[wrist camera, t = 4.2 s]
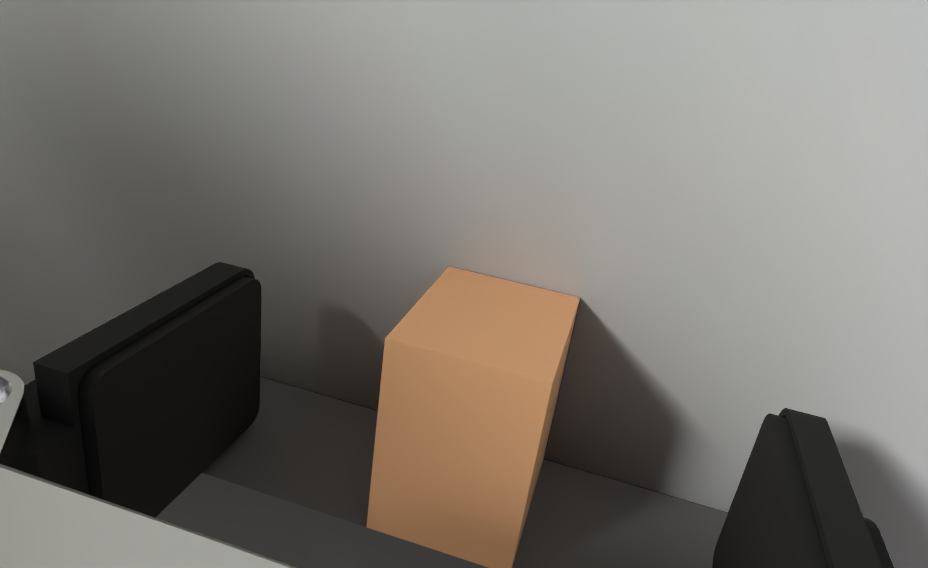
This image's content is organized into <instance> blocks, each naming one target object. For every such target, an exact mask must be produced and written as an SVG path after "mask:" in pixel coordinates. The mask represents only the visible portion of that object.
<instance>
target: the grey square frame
mask: <svg viewBox="0 0 928 568" xmlns="http://www.w3.org/2000/svg"><path fill="white" fill-rule="evenodd" d="M579 300H580V298H579V297H575V296H571V295H567V294H562V293H558V292H554V291H550V290H546V289H542V288H537V287H533V286H529V285H525V284H521V283H516V282H512V281H508V280H504V279H500V278H495V277H491V276H487V275H483V274H479V273H474V272H470V271H466V270H462V269H458V268H454V267H449V266H448V267H447V269H446V270H445V271H444V272H443V273H442V274H441V275H440V277H439V278H438V279H437V280H436V281H435V282H434V283H433V284H432V286H431V287H430V288H429V289H428V290H427V291H426V292H425V294H424V295H423V296H422V297H421V298H420V299H419V300H418V301H417V303H416V304H415V305H414V306H413V307H412V308H411V309H410V311H409V312H408V313H407V314H406V315H405V316H404V317H403V318H402V320H401V321H400V322H399V323H398V324H397V325H396V326H395V328H394V329H393V330H392V331H391V332H390V333H389V334H388V335H387V337H386V338H385V343H384V353H383V363H382V374H381V384H380V394H379V404H378V411H376V410H372V409H369V408H366V407H362V406H359V405H355V404H352V403H348V402H345V401H341V400H338V399H335V398H331V397H328V396H324V395H321V394H317V393H314V392H311V391H307V390H304V389H300V388H297V387H293V386H290V385H287V384H283V383H280V382H276V381H273V380H269V379H266V378H263V377H260V406H259V411H258V414H257V417H256V419H255V420H254V422H253V423H252V425H251V426H250V427H249V428H248V429H247V430H246V431H244V432H243V433H242V434H241V435H240V436H239V437H238V438H237V439H236V440H235V441H234V442H233V443H232V444H231V445H230V446H229V447H228V448H227V449H226V450H225V451H224V452H223V453H222V454H221V455H220V456H219V457H218V458H217V459H216V460H215V461H213V462H212V463H211V464H210V465H209V466H208V467H207V468H206V469H205V470H204V471H203V472H202V473H201V474H200V475H199V476H198V477H197V478H196V479H195V480H194V481H193V482H192V483H191V484H190V485H189V486H188V487H187V488H186V489H185V490H184V491H183V492H181V493H180V494H179V495H178V496H177V497H176V498H175V499H174V500H173V501H172V502H171V503H170V504H169V505H168V506H167V507H166V508H165V509H164V510H163V511H162V512H161V513H160V514H159V515H158V516H157V517H156V518H157V519H160V520H163V521H166V522H169V523H171V524H174V525H177V526H180V527H183V528H186V529H189V530H192V531H194V532H197V533H200V534H203V535H206V536H209V537H212V538H215V539H217V540H220V541H223V542H226V543H229V544H232V545H234V546H237V547H240V548H243V549H246V550H248V551H251V552H254V553H257V554H260V555H263V556H265V557H268V558H271V559H274V560H277V561H280V562H282V563H285V564H288V565H291V566H294V567H296V568H712V565H713V556H714V551H715V547H716V543H717V541H718V538H719V535H720V533H721V530H722V528H723V525H724V522H725V520H726V517H727V515H728V513H726V512H723V511H719V510H716V509H712V508H709V507H706V506H702V505H699V504H695V503H692V502H688V501H685V500H681V499H678V498H675V497H671V496H668V495H664V494H661V493H657V492H654V491H651V490H647V489H644V488H640V487H637V486H633V485H630V484H627V483H623V482H620V481H616V480H613V479H609V478H606V477H602V476H599V475H596V474H592V473H589V472H585V471H582V470H578V469H575V468H572V467H568V466H565V465H561V464H558V463H554V462H551V461H548V460H544V459H543V458H544V454H545V450H546V445H547V441H548V436H549V432H550V428H551V423H552V419H553V415H554V410H555V406H556V401H557V397H558V393H559V388H560V384H561V379H562V375H563V371H564V366H565V362H566V357H567V353H568V349H569V344H570V340H571V335H572V331H573V327H574V322H575V318H576V313H577V309H578V305H579Z"/></svg>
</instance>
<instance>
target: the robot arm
mask: <svg viewBox="0 0 928 568" xmlns="http://www.w3.org/2000/svg"><path fill="white" fill-rule="evenodd" d="M260 351H261V285H260V282H259V281H258V280H256V279H255V278H254V275H253V272H252V271H251V270H249V269H245V268H241V267H237V266H233V265H230V264H226V263H222V262H219V263H216V264H214V265H212V266H210V267H208V268H206V269H205V270H203V271H201V272H199V273H197V274H195V275H193V276H192V277H190V278H188V279H186V280H184V281H182V282H181V283H179V284H177V285H175V286H173V287H171V288H169V289H168V290H166V291H164V292H162V293H160V294H158V295H157V296H155V297H153V298H151V299H149V300H147V301H145V302H144V303H142V304H140V305H138V306H136V307H134V308H133V309H131V310H129V311H127V312H125V313H123V314H122V315H120V316H118V317H116V318H114V319H112V320H110V321H109V322H107V323H105V324H103V325H101V326H99V327H98V328H96V329H94V330H92V331H90V332H88V333H86V334H85V335H83V336H81V337H79V338H77V339H75V340H74V341H72V342H70V343H68V344H66V345H64V346H62V347H61V348H59V349H57V350H55V351H53V352H51V353H50V354H48V355H46V356H44V357H42V358H40V359H38V360H37V361H35V362H33V365H34V371H35V378H36V380H34V381H32V382H30V383H29V384H27V385H25V384H24V382H23V381H22V380H21V378H20V377H19V376H17V375H15V374H13V373H11V372H9V371H4V370H0V568H296V567H294V566H291V565H288V564H285V563H282V562H280V561H277V560H274V559H271V558H268V557H265V556H263V555H260V554H257V553H254V552H251V551H248V550H246V549H243V548H240V547H237V546H234V545H232V544H229V543H226V542H223V541H220V540H217V539H215V538H212V537H209V536H206V535H203V534H200V533H197V532H194V531H192V530H189V529H186V528H183V527H180V526H177V525H174V524H171V523H169V522H166V521H163V520H160V519H157V518H156V517H157V516H158V515H159V514H160V513H161V512H162V511H163V510H164V509H165V508H166V507H167V506H168V505H169V504H170V503H171V502H172V501H173V500H174V499H175V498H176V497H177V496H178V495H179V494H180V493H181V492H183V491H184V490H185V489H186V488H187V487H188V486H189V485H190V484H191V483H192V482H193V481H194V480H195V479H196V478H197V477H198V476H199V475H200V474H201V473H202V472H203V471H204V470H205V469H206V468H207V467H208V466H209V465H210V464H211V463H212V462H213V461H215V460H216V459H217V458H218V457H219V456H220V455H221V454H222V453H223V452H224V451H225V450H226V449H227V448H228V447H229V446H230V445H231V444H232V443H233V442H234V441H235V440H236V439H237V438H238V437H239V436H240V435H241V434H242V433H243V432H244V431H246V430H247V429H248V428H249V427H250V426H251V425H252V423H253V422H254V420H255V419H256V417H257V414H258V411H259V406H260ZM712 568H894V567H893V564H892V562H891V559H890V557H889V554H888V552H887V549H886V547H885V544H884V542H883V539H882V537H881V534H880V531H879V530H878V528H877V526H876V524H875V523H874V522H872V521H871V520H869V519H866V518H863V516H862V513H861V510H860V508H859V505H858V502H857V500H856V497H855V494H854V492H853V489H852V486H851V484H850V481H849V478H848V476H847V473H846V470H845V468H844V465H843V462H842V460H841V457H840V454H839V452H838V449H837V446H836V444H835V441H834V438H833V436H832V433H831V430H830V428H829V425H828V422H827V421H826V419H825V418H822V417H818V416H814V415H810V414H806V413H802V412H799V411H795V410H791V409H787V408H785V409H783V410H782V411H781V413H780V414H779V416H777V415H773V414H768V415H767V416H766V417H765V419H764V421H763V423H762V426H761V429H760V431H759V434H758V436H757V439H756V442H755V444H754V447H753V449H752V452H751V455H750V457H749V460H748V462H747V465H746V468H745V470H744V473H743V476H742V478H741V481H740V483H739V486H738V489H737V491H736V494H735V496H734V499H733V502H732V504H731V507H730V509H729V512H728V515H727V517H726V520H725V522H724V525H723V528H722V530H721V533H720V535H719V538H718V541H717V543H716V547H715V551H714V556H713V565H712Z"/></svg>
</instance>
